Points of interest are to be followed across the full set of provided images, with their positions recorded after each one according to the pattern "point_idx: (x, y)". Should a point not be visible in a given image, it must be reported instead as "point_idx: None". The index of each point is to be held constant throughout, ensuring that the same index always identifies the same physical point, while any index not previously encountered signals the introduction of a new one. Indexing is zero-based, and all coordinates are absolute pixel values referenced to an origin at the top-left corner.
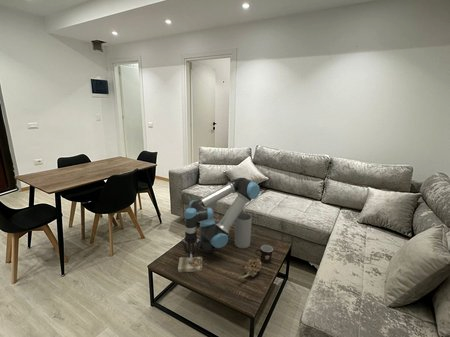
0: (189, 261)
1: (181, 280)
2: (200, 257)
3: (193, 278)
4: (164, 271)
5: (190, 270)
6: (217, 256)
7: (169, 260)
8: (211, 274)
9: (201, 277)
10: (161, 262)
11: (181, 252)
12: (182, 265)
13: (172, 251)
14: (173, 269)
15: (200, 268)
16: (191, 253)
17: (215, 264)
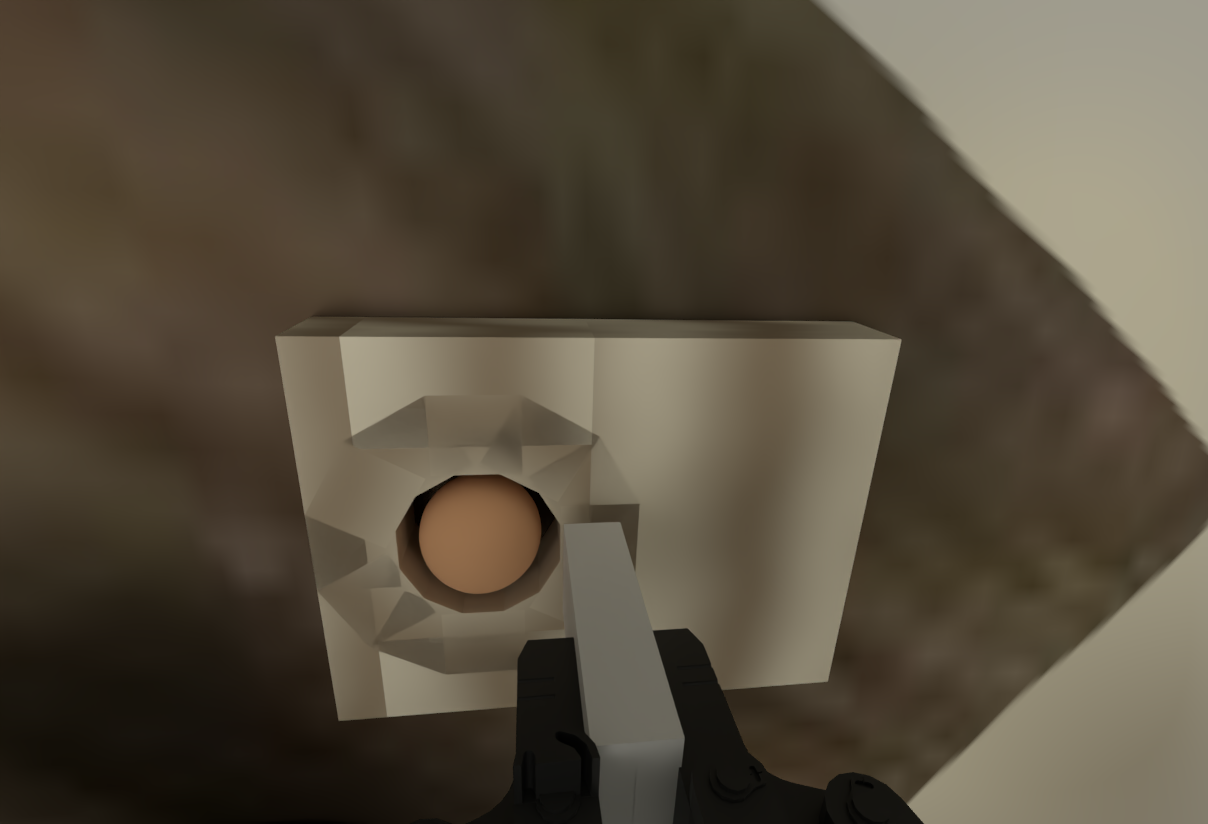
0: None
1: (801, 17)
2: (377, 700)
3: (507, 59)
4: (1095, 353)
5: (594, 325)
6: (27, 759)
7: (965, 626)
8: (17, 173)
9: (292, 75)
10: (1096, 579)
11: None
12: (791, 451)
13: None
14: (930, 402)
15: (326, 334)
16: (620, 785)
17: (5, 533)
